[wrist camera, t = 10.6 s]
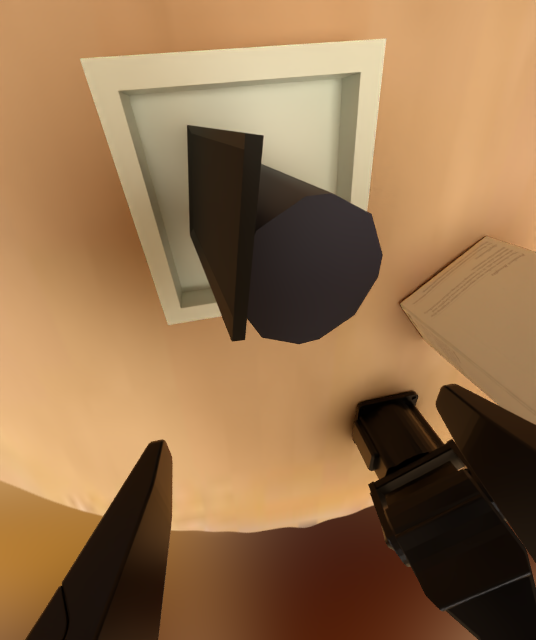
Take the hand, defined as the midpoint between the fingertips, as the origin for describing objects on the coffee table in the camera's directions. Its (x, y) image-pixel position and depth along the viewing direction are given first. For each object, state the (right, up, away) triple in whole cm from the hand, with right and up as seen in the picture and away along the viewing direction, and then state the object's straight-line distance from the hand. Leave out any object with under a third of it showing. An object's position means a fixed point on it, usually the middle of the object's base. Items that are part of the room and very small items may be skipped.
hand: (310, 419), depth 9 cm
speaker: (-2, +10, +7) cm, 12 cm away
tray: (-2, +10, +8) cm, 13 cm away
